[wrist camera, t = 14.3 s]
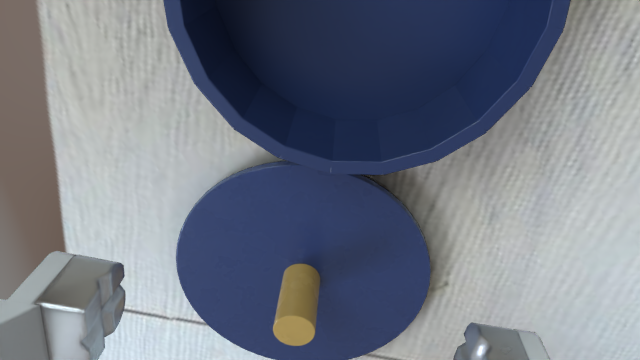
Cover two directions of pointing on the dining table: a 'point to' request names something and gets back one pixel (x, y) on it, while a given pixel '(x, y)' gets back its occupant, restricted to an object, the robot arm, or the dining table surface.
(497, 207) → the dining table surface
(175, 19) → the cookie tin
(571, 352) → the dining table surface
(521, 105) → the dining table surface
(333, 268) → the tin lid
